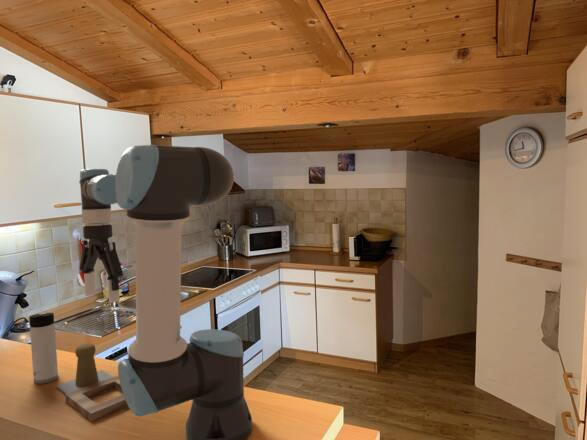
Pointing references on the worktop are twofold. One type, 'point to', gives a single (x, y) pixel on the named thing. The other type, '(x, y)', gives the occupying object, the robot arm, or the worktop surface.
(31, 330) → the travel mug
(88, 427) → the worktop surface
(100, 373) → the grey mat
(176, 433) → the worktop surface
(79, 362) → the cork
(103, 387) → the walnut holder
